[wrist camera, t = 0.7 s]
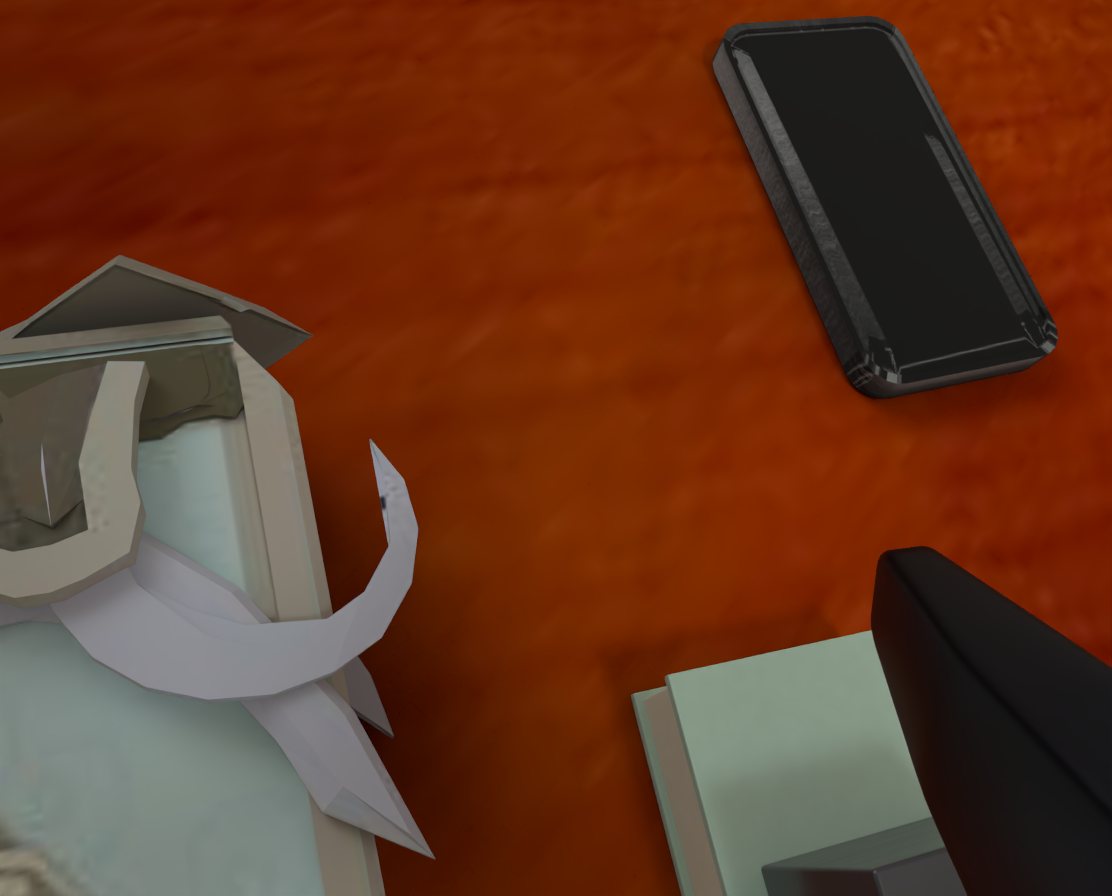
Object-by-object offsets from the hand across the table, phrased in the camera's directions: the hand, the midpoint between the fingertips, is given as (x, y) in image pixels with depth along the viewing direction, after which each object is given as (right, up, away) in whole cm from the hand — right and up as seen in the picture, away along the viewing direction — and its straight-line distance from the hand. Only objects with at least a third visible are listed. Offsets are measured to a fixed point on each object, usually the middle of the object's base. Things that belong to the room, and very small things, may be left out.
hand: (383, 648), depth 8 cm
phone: (+13, +11, +26) cm, 31 cm away
